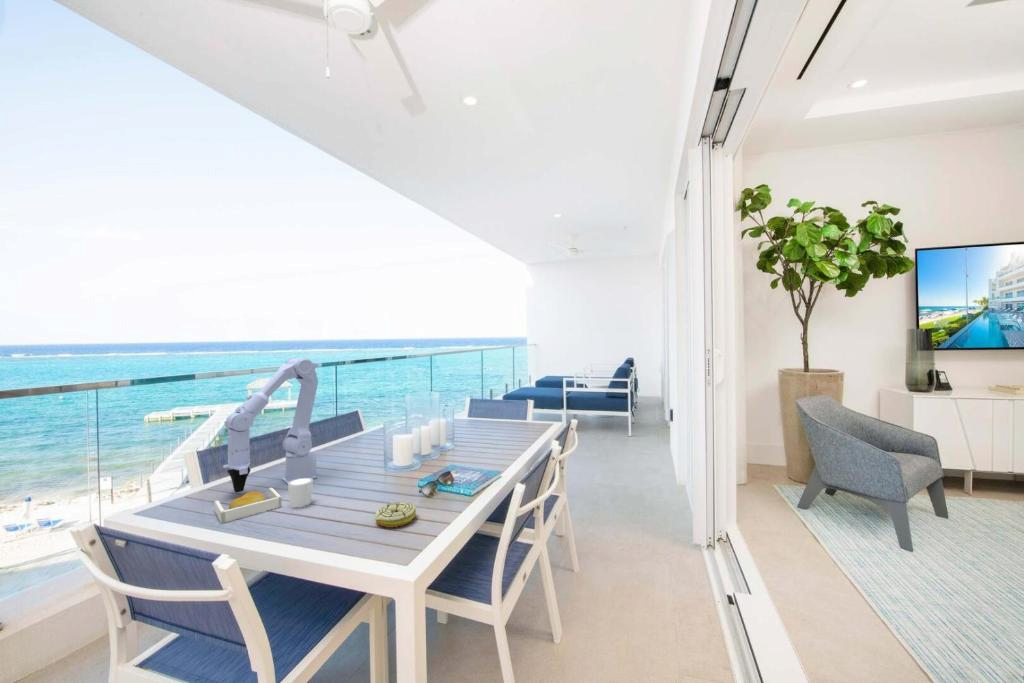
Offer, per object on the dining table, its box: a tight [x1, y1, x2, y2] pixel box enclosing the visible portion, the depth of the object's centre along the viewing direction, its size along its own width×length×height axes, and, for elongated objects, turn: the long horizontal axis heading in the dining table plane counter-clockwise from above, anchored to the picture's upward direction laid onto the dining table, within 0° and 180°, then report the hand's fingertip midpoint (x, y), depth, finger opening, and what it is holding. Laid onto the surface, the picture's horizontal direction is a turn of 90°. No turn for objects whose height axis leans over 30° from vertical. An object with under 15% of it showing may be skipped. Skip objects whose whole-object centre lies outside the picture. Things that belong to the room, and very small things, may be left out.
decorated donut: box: [374, 501, 417, 528], centre depth 106 cm, size 10×11×4 cm
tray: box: [214, 487, 283, 524], centre depth 113 cm, size 15×11×3 cm
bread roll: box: [228, 491, 267, 510], centre depth 114 cm, size 8×9×4 cm
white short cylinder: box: [287, 478, 314, 508], centre depth 116 cm, size 7×7×7 cm
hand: (239, 491), depth 123 cm, fingers closed
